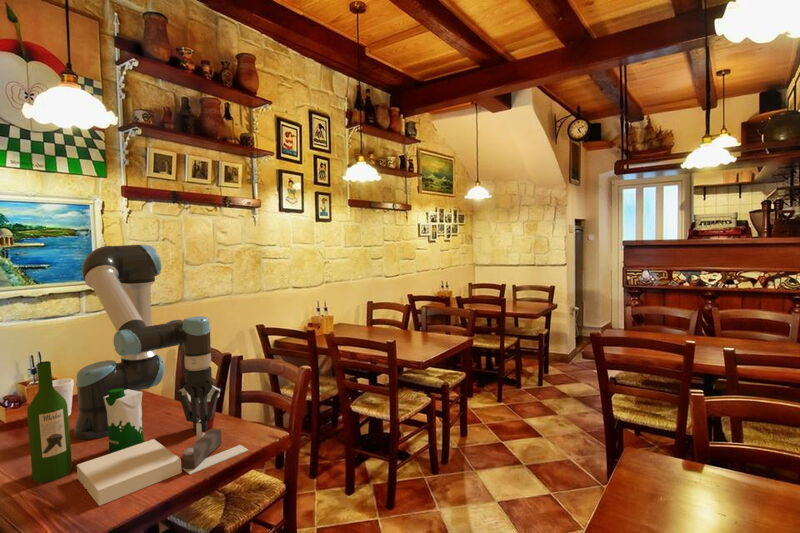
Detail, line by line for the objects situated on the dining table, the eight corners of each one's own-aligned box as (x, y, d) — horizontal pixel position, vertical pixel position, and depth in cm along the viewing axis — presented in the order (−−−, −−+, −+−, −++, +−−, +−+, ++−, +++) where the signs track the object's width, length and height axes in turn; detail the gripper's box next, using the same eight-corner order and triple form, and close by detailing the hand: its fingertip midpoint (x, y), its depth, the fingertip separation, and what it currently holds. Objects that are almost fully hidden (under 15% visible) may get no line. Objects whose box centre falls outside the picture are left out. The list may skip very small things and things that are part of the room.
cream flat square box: (77, 478, 124) (76, 464, 124) (154, 451, 139) (153, 439, 139) (99, 505, 111) (98, 490, 110) (181, 472, 126) (180, 459, 125)
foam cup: (49, 413, 172) (46, 381, 171) (78, 409, 176) (75, 377, 175) (41, 422, 164) (38, 388, 163) (72, 417, 168) (69, 384, 167)
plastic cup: (209, 436, 149) (207, 401, 148) (180, 433, 151) (178, 399, 150) (227, 422, 159) (226, 389, 159) (201, 420, 162) (199, 388, 161)
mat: (182, 468, 128) (182, 467, 128) (240, 445, 141) (240, 444, 141) (190, 474, 124) (189, 473, 124) (248, 450, 138) (248, 449, 138)
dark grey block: (192, 471, 125) (191, 452, 125) (181, 470, 126) (180, 452, 125) (221, 442, 143) (220, 426, 142) (212, 442, 143) (211, 426, 142)
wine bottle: (40, 486, 120) (30, 368, 118) (27, 477, 125) (17, 364, 123) (78, 471, 128) (69, 360, 126) (64, 463, 133) (55, 356, 130)
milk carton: (104, 453, 138) (99, 390, 137) (132, 440, 147) (128, 381, 145) (122, 458, 135) (117, 394, 133) (150, 445, 143) (145, 384, 142)
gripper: (170, 371, 132) (174, 448, 134) (214, 370, 133) (217, 447, 134) (182, 364, 140) (185, 437, 141) (223, 363, 141) (226, 436, 142)
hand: (201, 442), depth 138 cm, fingers closed
